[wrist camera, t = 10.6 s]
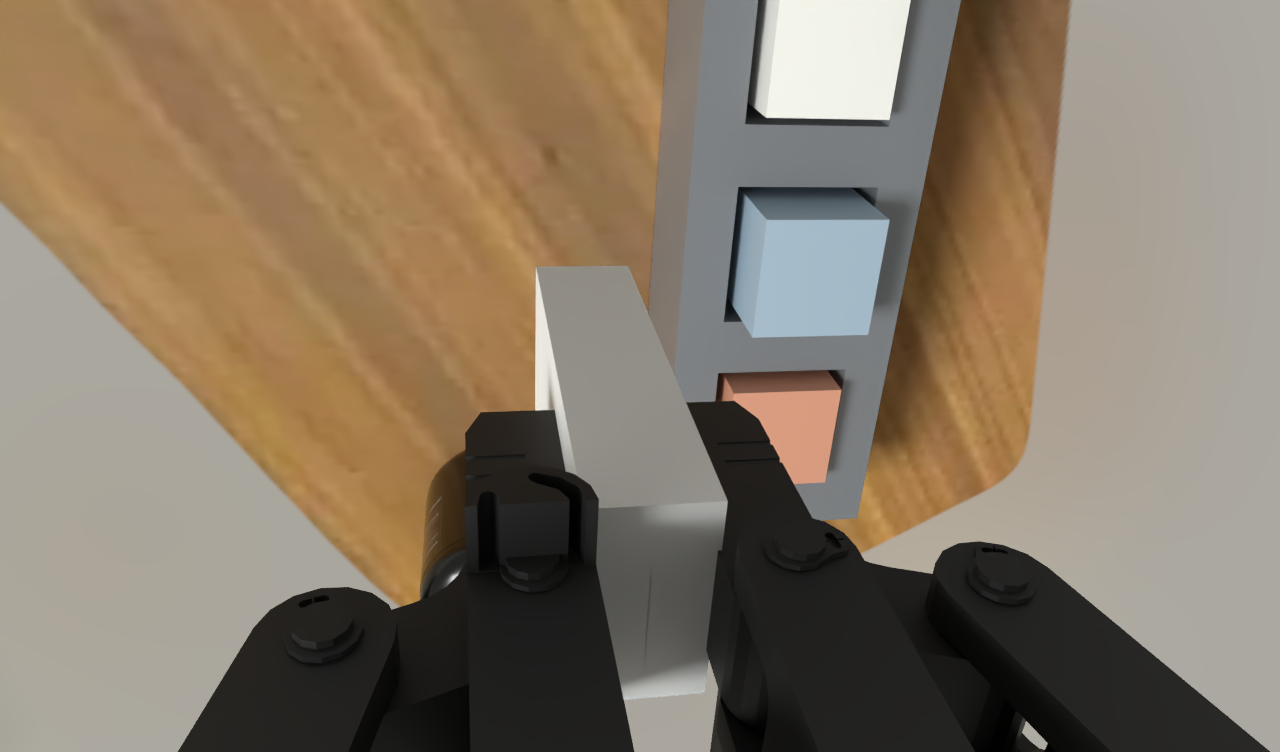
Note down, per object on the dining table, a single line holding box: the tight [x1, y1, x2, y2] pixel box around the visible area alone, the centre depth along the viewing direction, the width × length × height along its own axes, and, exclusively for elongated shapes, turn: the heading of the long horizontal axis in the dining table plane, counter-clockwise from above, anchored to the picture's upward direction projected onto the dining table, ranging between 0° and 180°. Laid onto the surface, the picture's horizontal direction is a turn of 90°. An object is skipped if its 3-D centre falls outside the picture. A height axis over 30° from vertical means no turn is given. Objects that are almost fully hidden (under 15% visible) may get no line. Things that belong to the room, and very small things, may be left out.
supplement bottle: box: [420, 451, 466, 600], centre depth 46 cm, size 7×7×12 cm
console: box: [648, 0, 961, 520], centre depth 43 cm, size 28×10×6 cm, turn 177°
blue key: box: [727, 187, 890, 338], centre depth 40 cm, size 5×5×5 cm
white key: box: [747, 0, 911, 120], centre depth 37 cm, size 5×5×5 cm
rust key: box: [715, 370, 841, 484], centre depth 45 cm, size 5×5×5 cm
